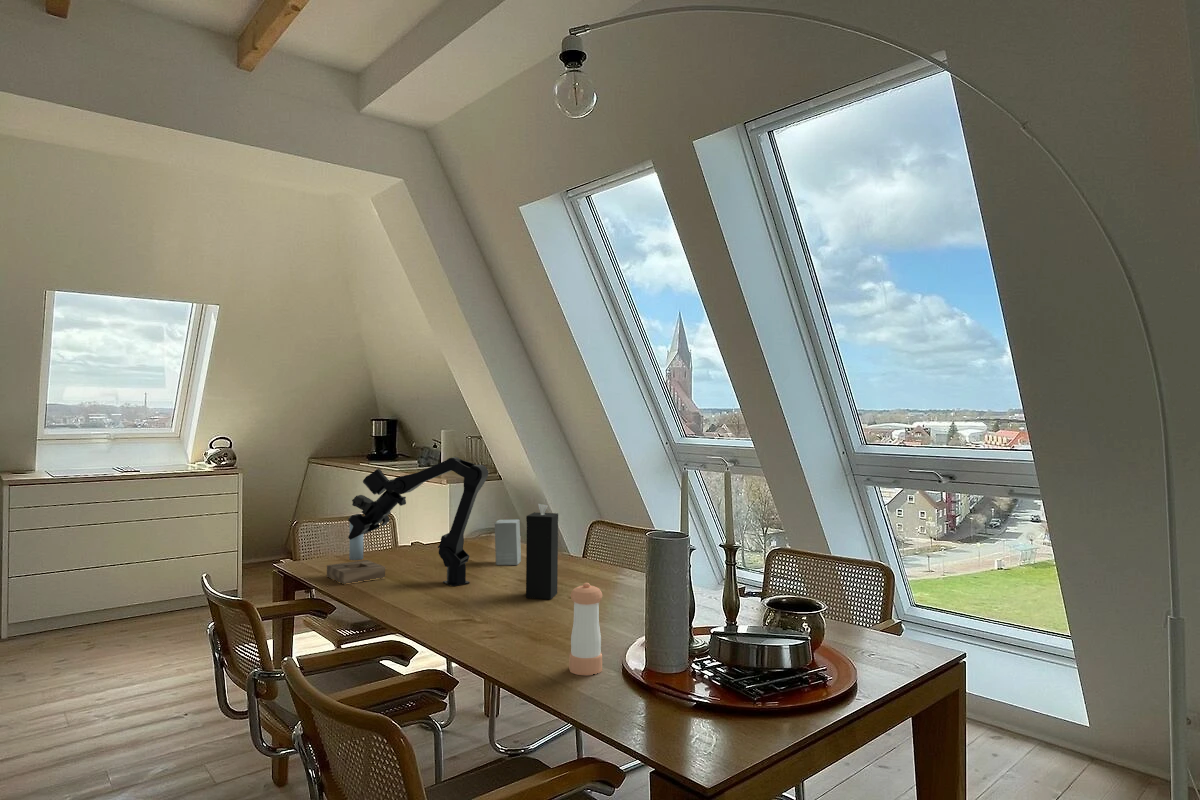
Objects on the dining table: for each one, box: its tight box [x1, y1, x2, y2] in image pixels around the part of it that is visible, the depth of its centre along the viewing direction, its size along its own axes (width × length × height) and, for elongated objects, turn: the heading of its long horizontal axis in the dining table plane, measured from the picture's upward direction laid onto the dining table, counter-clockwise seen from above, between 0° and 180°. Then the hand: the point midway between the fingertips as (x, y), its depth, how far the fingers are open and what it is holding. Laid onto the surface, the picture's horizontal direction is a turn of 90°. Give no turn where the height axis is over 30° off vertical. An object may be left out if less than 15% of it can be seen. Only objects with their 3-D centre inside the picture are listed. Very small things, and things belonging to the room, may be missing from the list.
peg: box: [348, 515, 365, 561], centre depth 257 cm, size 4×4×14 cm
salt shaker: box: [568, 582, 603, 676], centre depth 171 cm, size 7×7×19 cm
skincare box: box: [494, 519, 522, 566], centre depth 281 cm, size 8×7×16 cm
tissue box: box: [525, 503, 559, 600], centre depth 236 cm, size 8×8×28 cm
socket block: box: [326, 559, 386, 584], centre depth 256 cm, size 14×14×4 cm
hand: (352, 537), depth 257 cm, fingers closed on peg, 4 cm apart
